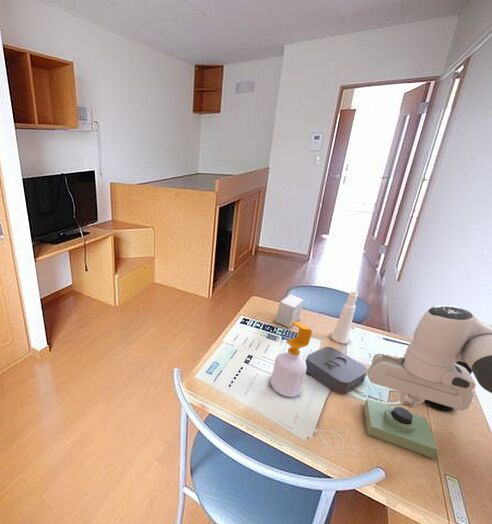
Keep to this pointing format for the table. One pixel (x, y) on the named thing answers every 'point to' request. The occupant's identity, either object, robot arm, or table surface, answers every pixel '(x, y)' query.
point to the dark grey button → (402, 415)
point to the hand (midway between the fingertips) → (406, 404)
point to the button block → (399, 429)
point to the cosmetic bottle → (345, 319)
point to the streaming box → (335, 370)
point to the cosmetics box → (289, 310)
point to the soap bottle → (291, 365)
